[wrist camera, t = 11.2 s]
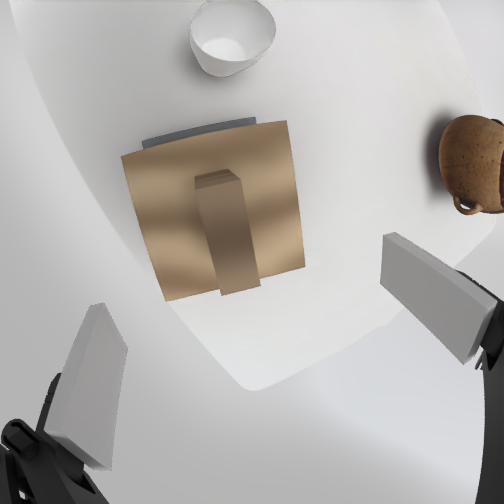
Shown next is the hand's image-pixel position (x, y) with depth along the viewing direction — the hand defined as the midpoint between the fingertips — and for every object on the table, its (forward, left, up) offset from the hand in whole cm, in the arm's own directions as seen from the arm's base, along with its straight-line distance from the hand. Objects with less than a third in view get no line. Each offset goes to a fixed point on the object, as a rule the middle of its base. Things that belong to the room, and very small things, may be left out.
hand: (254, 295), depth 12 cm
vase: (+1, +48, -30) cm, 56 cm away
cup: (-19, +5, -30) cm, 36 cm away
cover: (0, 0, -29) cm, 29 cm away
